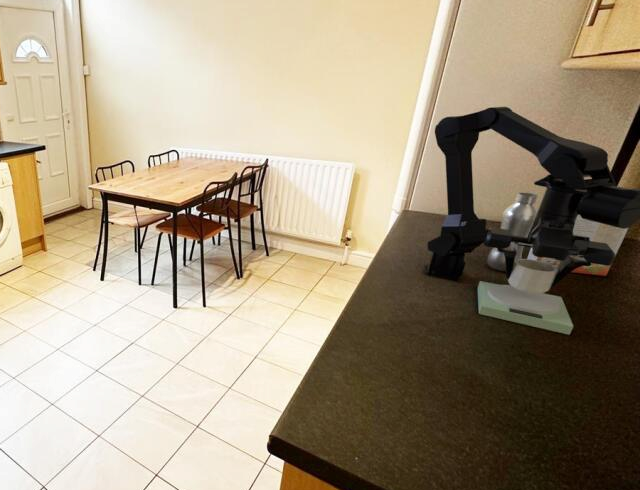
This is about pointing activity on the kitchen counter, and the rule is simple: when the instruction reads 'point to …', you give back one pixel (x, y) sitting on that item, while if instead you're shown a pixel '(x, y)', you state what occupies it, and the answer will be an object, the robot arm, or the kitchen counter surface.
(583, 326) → the kitchen counter surface
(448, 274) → the robot arm
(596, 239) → the cracker box
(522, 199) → the silver metal bottle
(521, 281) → the bowl
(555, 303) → the scale
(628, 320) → the kitchen counter surface
